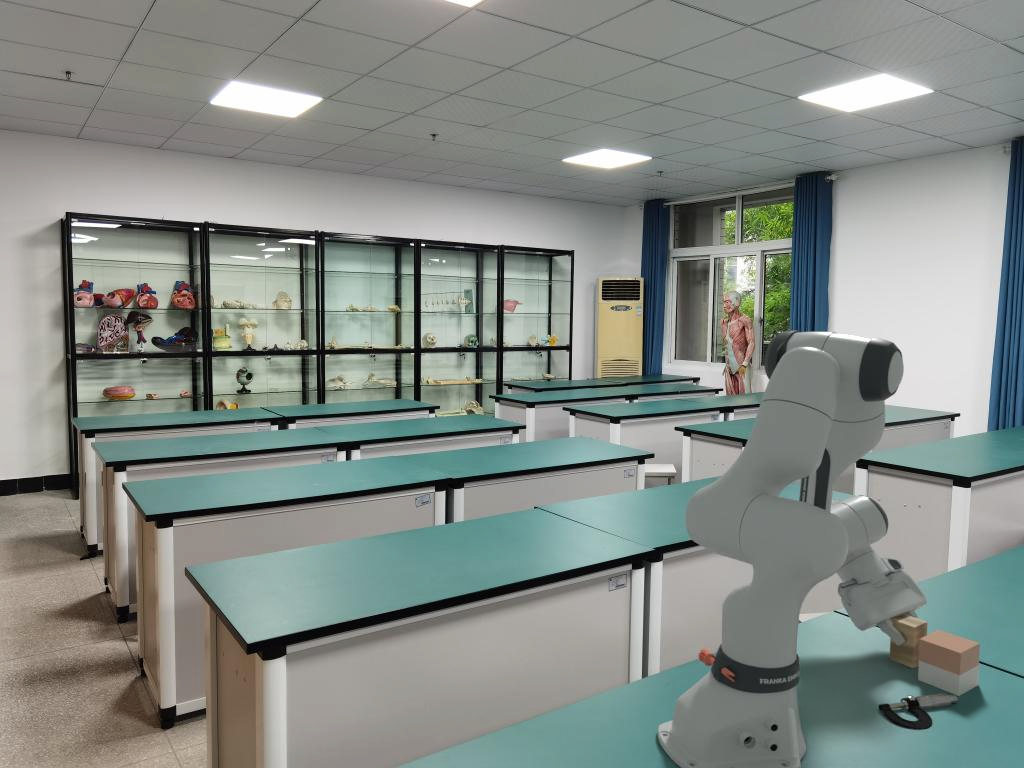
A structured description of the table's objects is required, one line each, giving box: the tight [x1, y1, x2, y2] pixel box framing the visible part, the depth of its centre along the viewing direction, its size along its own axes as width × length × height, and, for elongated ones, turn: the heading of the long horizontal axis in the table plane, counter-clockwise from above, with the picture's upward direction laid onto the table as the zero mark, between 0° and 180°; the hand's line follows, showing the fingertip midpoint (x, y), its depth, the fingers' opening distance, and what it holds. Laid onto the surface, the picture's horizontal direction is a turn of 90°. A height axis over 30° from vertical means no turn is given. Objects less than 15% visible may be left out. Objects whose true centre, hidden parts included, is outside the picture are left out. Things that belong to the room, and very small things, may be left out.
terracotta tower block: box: [919, 629, 981, 675], centre depth 129 cm, size 7×7×4 cm
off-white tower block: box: [917, 661, 980, 697], centre depth 129 cm, size 7×7×4 cm
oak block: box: [889, 614, 929, 669], centre depth 138 cm, size 4×4×8 cm
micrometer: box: [878, 692, 958, 731], centre depth 119 cm, size 15×7×2 cm, turn 101°
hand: (911, 639), depth 137 cm, fingers closed on oak block, 4 cm apart
